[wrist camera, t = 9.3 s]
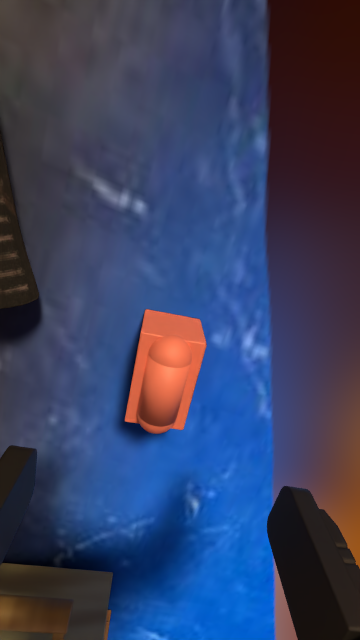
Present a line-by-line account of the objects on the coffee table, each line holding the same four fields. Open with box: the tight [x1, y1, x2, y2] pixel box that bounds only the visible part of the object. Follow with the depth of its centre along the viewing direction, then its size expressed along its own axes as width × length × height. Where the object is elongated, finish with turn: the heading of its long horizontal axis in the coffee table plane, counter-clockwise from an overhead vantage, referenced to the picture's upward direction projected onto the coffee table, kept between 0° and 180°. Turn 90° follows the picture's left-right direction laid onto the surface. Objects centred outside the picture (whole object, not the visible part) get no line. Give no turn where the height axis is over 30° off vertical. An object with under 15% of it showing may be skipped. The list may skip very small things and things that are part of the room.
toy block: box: [125, 309, 207, 434], centre depth 15 cm, size 3×5×4 cm, turn 168°
